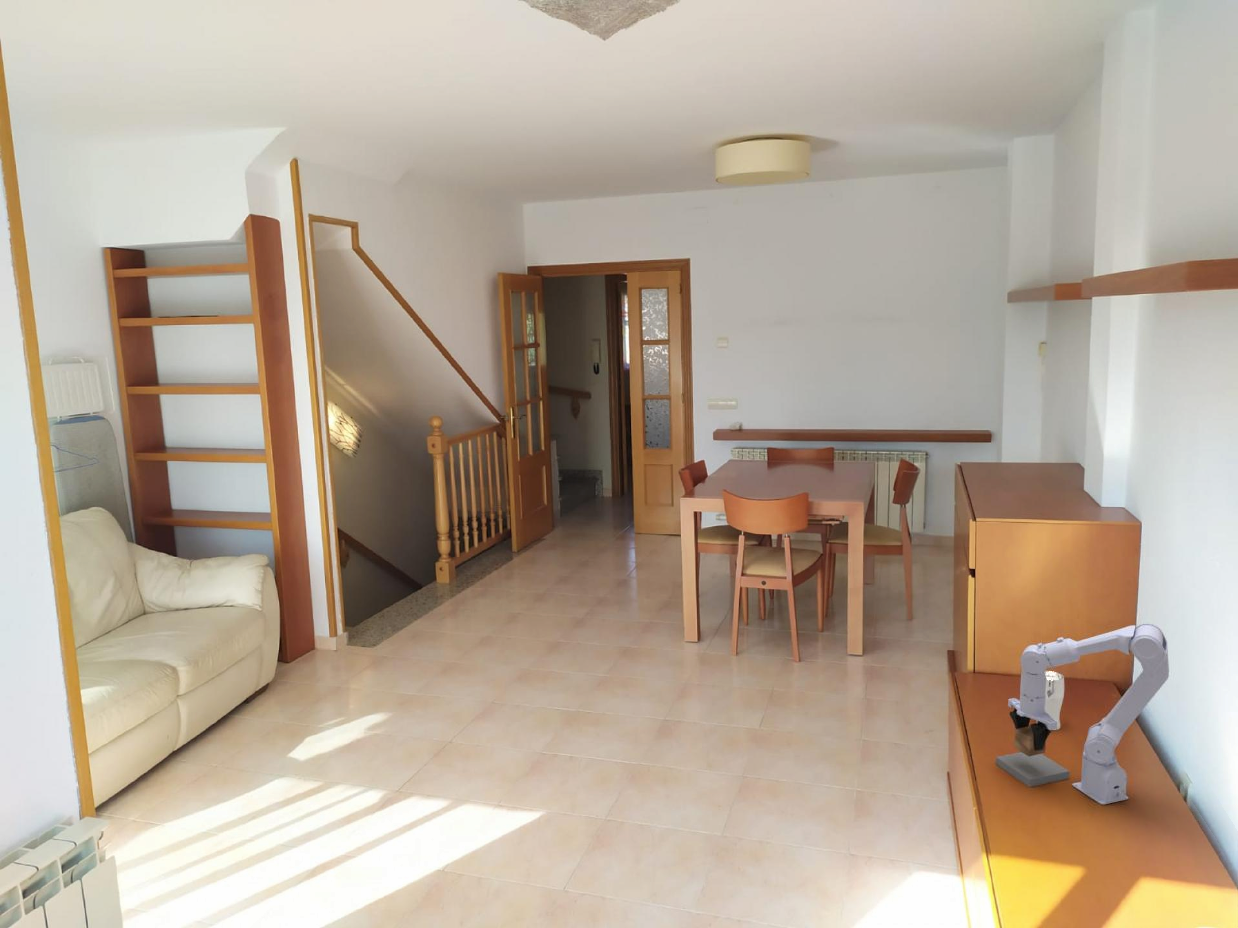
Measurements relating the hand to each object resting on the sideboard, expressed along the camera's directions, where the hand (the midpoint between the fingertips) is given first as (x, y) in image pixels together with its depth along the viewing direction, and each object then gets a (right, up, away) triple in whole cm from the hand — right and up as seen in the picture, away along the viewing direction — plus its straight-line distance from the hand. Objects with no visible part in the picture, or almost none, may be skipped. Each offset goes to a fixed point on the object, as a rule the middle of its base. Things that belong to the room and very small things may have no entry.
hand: (1030, 744), depth 224 cm
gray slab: (+2, -8, +3) cm, 9 cm away
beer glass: (+18, -4, +27) cm, 33 cm away
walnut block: (0, -2, 0) cm, 2 cm away
